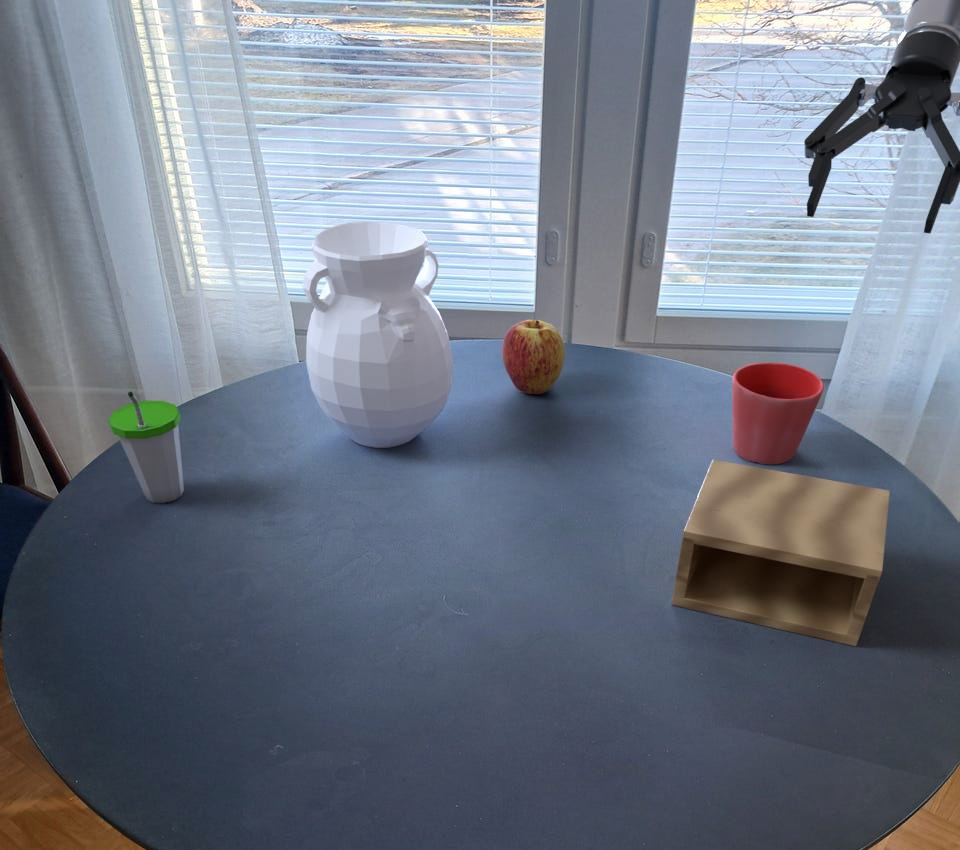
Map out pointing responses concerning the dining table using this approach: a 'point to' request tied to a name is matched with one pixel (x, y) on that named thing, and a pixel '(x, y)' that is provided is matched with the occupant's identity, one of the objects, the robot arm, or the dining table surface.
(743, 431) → the flower pot
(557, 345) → the apple
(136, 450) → the cup
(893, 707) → the dining table surface
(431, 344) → the white handled vase
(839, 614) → the cubby shelf
